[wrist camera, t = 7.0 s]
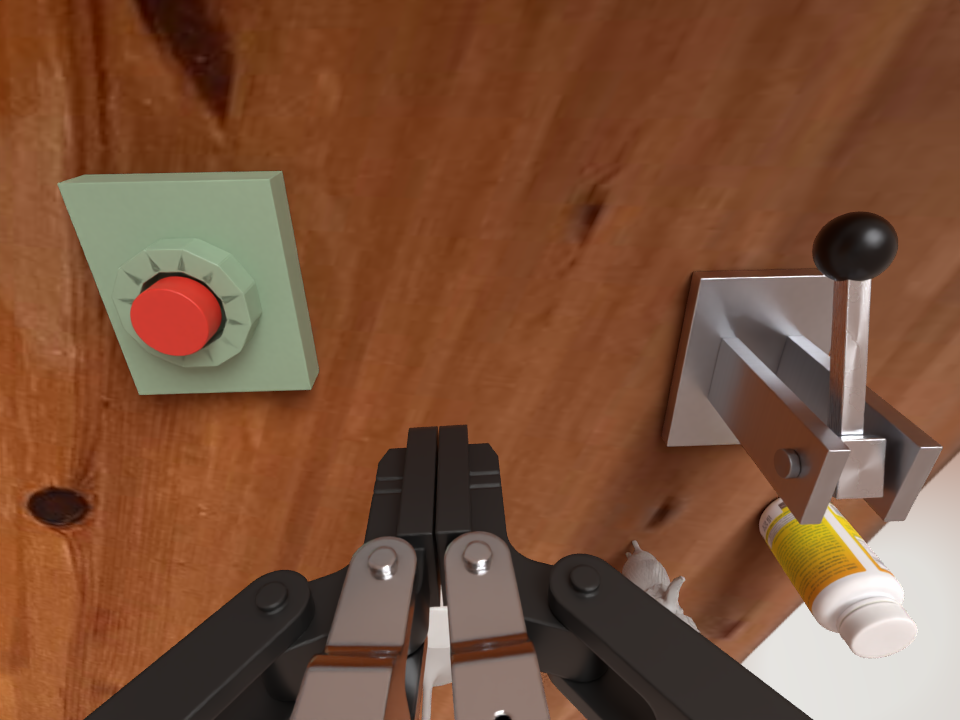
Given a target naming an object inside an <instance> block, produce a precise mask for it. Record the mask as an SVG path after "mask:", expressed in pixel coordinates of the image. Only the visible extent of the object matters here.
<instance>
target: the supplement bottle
mask: <svg viewBox="0 0 960 720" xmlns="http://www.w3.org/2000/svg"><path fill="white" fill-rule="evenodd" d="M759 529H760V533H761V535H762V537H763V538H764V540H765V542H766V544H767V545H768V547H769V548H770V550H771V551H772V553H773V554H774V556H775V557H776V559H777V560H778V562H779V564H780V565H781V567H782V568H783V570H784V571H785V573H786V574H787V576H788V577H789V579H790V581H791V582H792V584H793V585H794V587H795V588H796V590H797V591H798V593H799V594H800V596H801V598H802V599H803V601H804V602H805V604H806V605H807V607H808V609H809V610H810V611H811V613H812V615H813V616H814V617H815V619H816V620H817V622H818V623H819V624H820V625H821V626H823V627H824V628H826V629H827V630H830V631H832V632H836V633H840V635H841V637H842V638H843V639H844V640H845V642H846V643H847V645H848V646H849V648H850V649H851V650H852V652H853V653H854V654H856V655H858V656H860V657H863V658H881V657H886V656H889V655H892V654H895V653H897V652H899V651H901V650H903V649H904V648H906V647H907V646H908V645H910V644H911V643H912V642H913V640H914V639H915V638H916V635H917V633H918V628H917V625H916V624H915V622H914V621H913V620H912V618H911V617H910V616H909V615H908V613H907V612H906V610H905V609H904V608H903V607H902V604H903V600H904V591H903V588H902V586H901V584H900V583H899V582H898V580H897V579H896V578H895V577H894V575H893V574H892V573H891V572H890V571H889V569H887V567H886V566H885V565H884V564H883V562H882V561H881V560H880V559H879V558H878V557H877V555H876V554H875V553H874V552H873V551H872V549H870V547H869V546H868V545H867V544H866V542H865V541H864V540H863V539H862V538H861V536H860V535H859V534H858V533H857V532H856V531H855V529H854V528H853V527H852V526H851V525H850V524H849V523H848V521H847V520H846V519H845V518H844V517H843V515H842V514H841V513H840V512H839V511H838V510H837V508H836V507H835V506H834V505H833V504H832V503H831V502H829V505H828V507H827V510H826V512H825V514H824V517H823V519H822V521H821V523H820V524H804V525H801V524H799V522H798V521H797V519H796V518H795V517H794V515H793V514H792V513H791V511H790V510H789V509H788V507H787V506H786V505H785V503H784V502H783V501H782V499H781V498H778V499H777V500H775V501H774V502H772V503H771V504H770V505H769V506H768V507H767V508H766V509H765V510H764V512H763V514H762V516H761V518H760V522H759Z"/></svg>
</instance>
